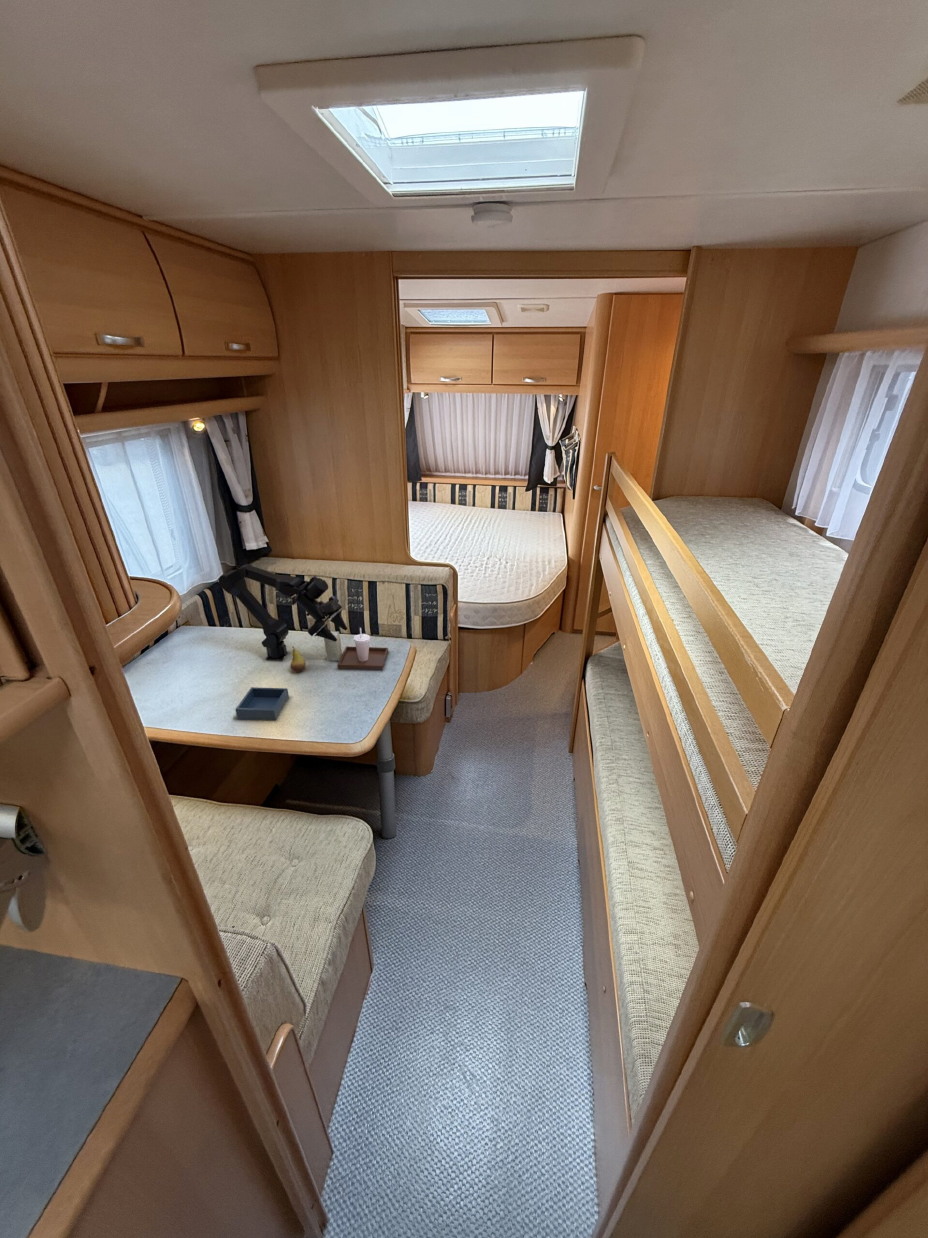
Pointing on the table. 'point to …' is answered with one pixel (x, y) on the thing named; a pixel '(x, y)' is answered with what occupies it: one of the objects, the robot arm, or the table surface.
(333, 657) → the box
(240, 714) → the bin
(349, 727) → the table surface
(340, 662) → the tray
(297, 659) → the fruit
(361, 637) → the smoothie
